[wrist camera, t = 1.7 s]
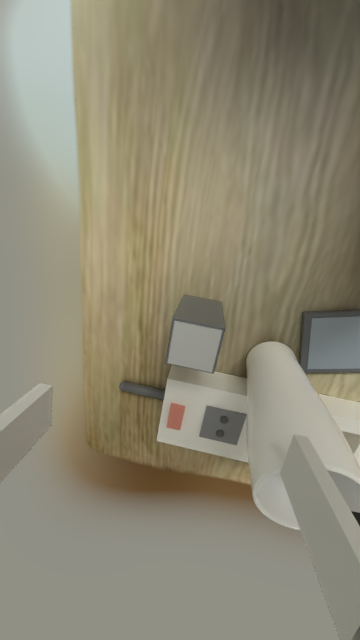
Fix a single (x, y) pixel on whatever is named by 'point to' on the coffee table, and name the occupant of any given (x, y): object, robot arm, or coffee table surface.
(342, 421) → the power strip
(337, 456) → the drinking glass
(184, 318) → the block
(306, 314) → the phone slab
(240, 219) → the coffee table surface
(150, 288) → the coffee table surface
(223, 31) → the coffee table surface
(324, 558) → the robot arm
